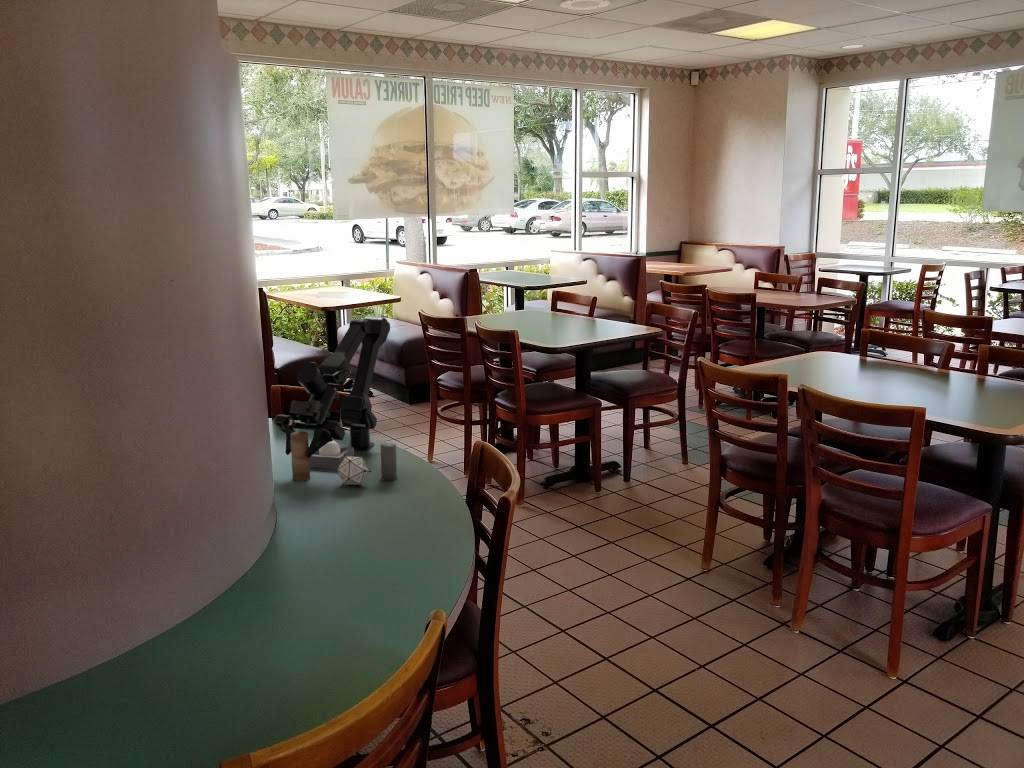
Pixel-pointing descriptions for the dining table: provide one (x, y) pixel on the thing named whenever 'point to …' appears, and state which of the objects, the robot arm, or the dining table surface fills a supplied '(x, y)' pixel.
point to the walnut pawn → (300, 456)
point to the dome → (330, 449)
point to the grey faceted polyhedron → (353, 470)
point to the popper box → (330, 458)
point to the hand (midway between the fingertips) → (297, 455)
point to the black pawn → (388, 461)
